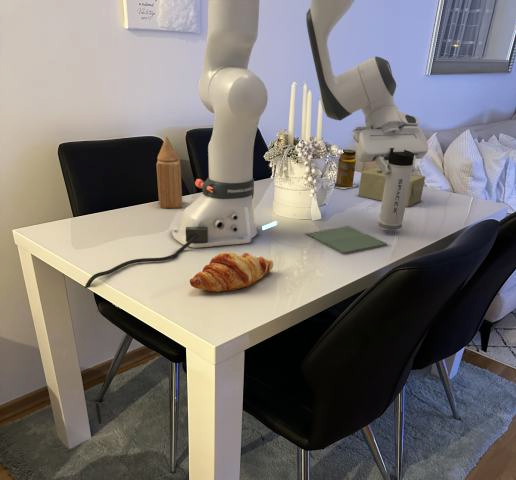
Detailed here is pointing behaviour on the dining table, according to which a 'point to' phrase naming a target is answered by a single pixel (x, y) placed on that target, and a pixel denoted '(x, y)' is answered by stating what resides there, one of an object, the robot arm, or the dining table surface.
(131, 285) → the dining table surface
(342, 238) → the napkin
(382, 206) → the travel mug
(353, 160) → the condiment
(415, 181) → the tissue box
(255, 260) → the croissant
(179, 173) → the decorative item
